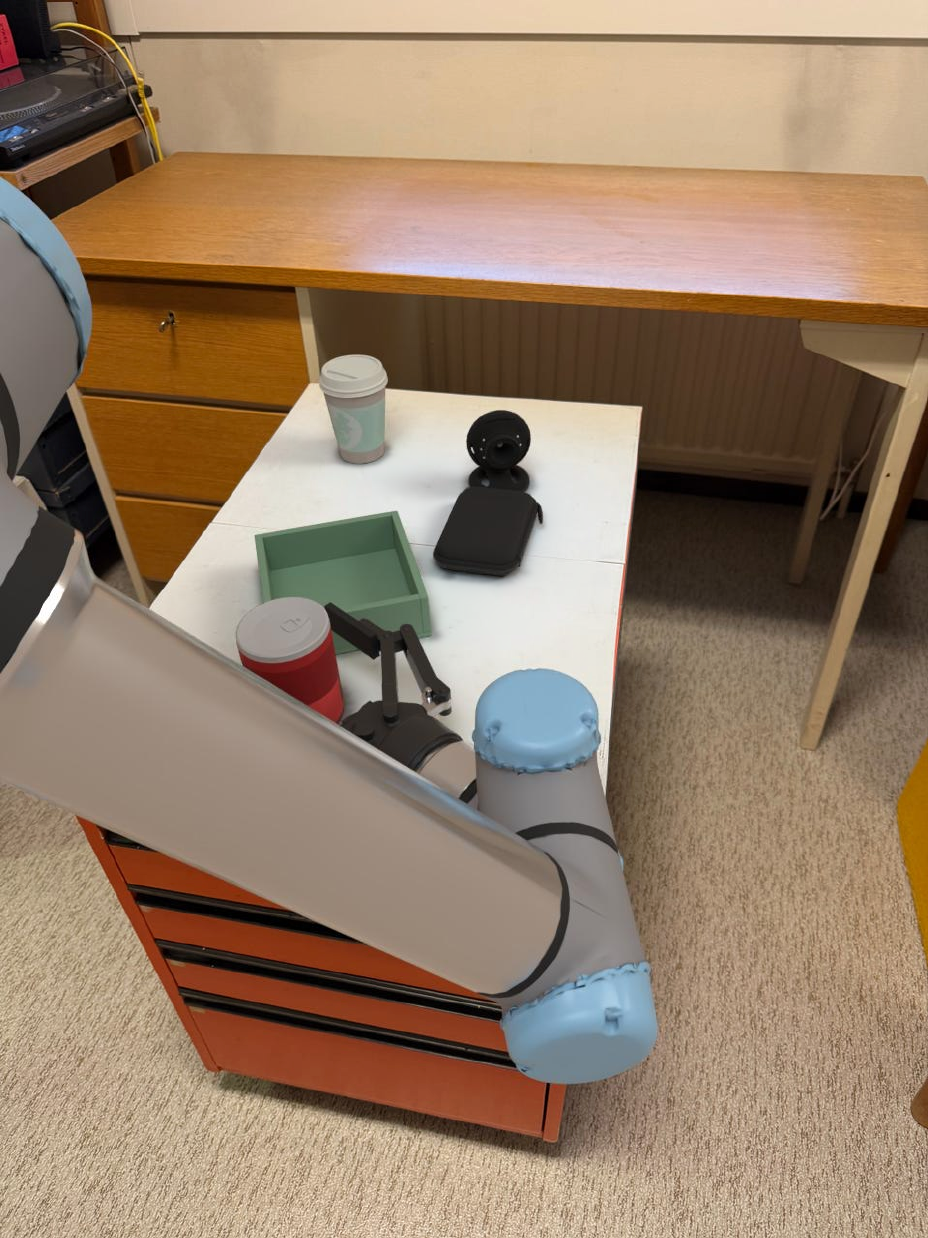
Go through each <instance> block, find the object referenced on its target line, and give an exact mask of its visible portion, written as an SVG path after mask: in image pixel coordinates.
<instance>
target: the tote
mask: <svg viewBox="0 0 928 1238" xmlns="http://www.w3.org/2000/svg"><path fill="white" fill-rule="evenodd" d="M254 543H255V549H256V557H257V565H258V573H259V581H260V582H259V583H260V589H261V596H262V604H263V603H265V602H268V601H271V600H274V599H279V598H284V597H301V598H306V599H310V600H313V601H315V602H317V603H318V604H320V605H321V606H322V607H323V608H324V606H325V605H327V604H328V603H330V602H331V603H333V604H334V605H336V606H337V607H338V608H340V609H341V610H343V611H344V612H346V613H347V614H349V615H350V616H352V617H353V618H355V619H356V620H358V621H359V620H361V619H362V618H364V619H368V620H370V621H371V622H372V623H374V624H375V625H377V626H379V627H380V628H382V629H383V630H385V631H391V632H395V631H398V630H400V627H401V626H402V625H403V624H410V625H412V626H413V628H414V630H415V632H416V634H417V636H418V638H419V639H422V638H427V637H431V636H432V628H431V616H430V602H429V595H428V593H427V589H426V586H425V584H424V580H423V578H422V576H421V573H420V569H419V567H418V564H417V561H416V559H415V556H414V552H413V550H412V546H411V544H410V542H409V539H408V536H407V534H406V530H405V527H404V525H403V523H402V519H401V517H400V513H399V511H398V510H392V511H385V512H380V513H379V512H378V513H374V514H367V515H362V516H361V515H360V516H356V517H349V518H344V519H339V520H333V521H327V522H322V523H315V524H309V525H304V526H298V527H293V528H291V527H290V528H286V529H281V530H274V531H269V532H268V531H267V532H263V533H258V534H254ZM324 609H325V608H324ZM332 636H333V642H334V648H335V653H336V655H340V654H341V655H342V654H346V653H351V652H355V651H356V652H357V651H360V650H359V649H358V648H356V647H355V646H353V645H352V644H350V643H349V642H348V641H346V640H345V639H343V638H342V637H340V636H339V635H338V634H336V633H335V632H333V631H332Z"/></svg>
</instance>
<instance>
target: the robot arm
mask: <svg viewBox="0 0 928 1238" xmlns="http://www.w3.org/2000/svg"><path fill="white" fill-rule="evenodd" d="M92 328H93V310H92V301H91V295H90V294H89V289H88V287H87V282H86V279H85V277H84V274H83V271H82V268H81V265H80V263H79V261H78V259H77V257H76V255H75V253H74V252H73V250H72V249H71V247H70V245H69V243H68V242H67V240H66V239H65V237H64V235H63V234H62V233H61V232H60V231H59V229H58V227H56V225H55V224H54V222H52V220H51V219H50V218H49V217H48V215H47V214H46V213H45V212H44V211H43V210H42V209H40V207H39V206H38V205H37V204H35V202H33V201H32V200H31V198H29V197H28V196H27V195H25V194H24V193H23V192H22V191H21V190H20V189H18V188H17V187H16V186H14V185H13V184H12V183H11V182H9V181H8V180H6V179H5V178H3V177H2V176H0V783H2V784H5V785H7V786H10V787H12V788H14V789H16V790H18V791H20V792H23V793H25V794H27V795H30V796H32V797H34V798H37V799H38V800H41V801H43V802H45V803H47V804H50V805H52V806H54V807H56V808H59V809H61V810H64V811H65V812H67V813H70V814H72V815H75V816H77V817H79V818H82V819H84V820H86V821H88V822H91V823H93V824H95V825H97V826H100V827H101V828H104V829H106V830H109V831H110V832H113V833H115V834H118V835H119V836H122V837H124V838H127V839H128V840H131V841H133V842H135V843H138V844H140V845H142V846H144V847H146V848H149V849H151V850H154V851H156V852H158V853H160V854H162V855H165V856H167V857H169V858H171V859H173V860H176V861H179V862H181V863H183V864H185V865H187V866H190V867H192V868H194V869H197V870H198V871H201V872H204V873H205V874H208V875H210V876H212V877H215V878H217V879H218V880H221V881H223V882H226V883H227V884H230V885H232V886H235V887H237V888H239V889H241V890H244V891H246V892H248V893H250V894H252V895H255V896H257V897H260V898H261V899H264V900H266V901H268V902H271V903H273V904H276V905H277V906H280V907H282V908H284V909H287V910H289V911H290V912H293V913H296V914H298V915H299V916H302V917H304V918H307V919H310V920H311V921H314V922H316V923H318V924H320V925H322V926H325V927H327V928H329V929H332V930H334V931H336V932H338V933H341V934H343V935H345V936H347V937H350V938H352V939H354V940H357V941H358V942H361V943H363V944H365V945H368V946H369V947H371V948H374V949H376V950H379V951H381V952H384V953H386V954H387V955H391V956H392V957H394V958H397V959H398V960H402V961H404V962H406V963H408V964H410V965H413V966H414V967H417V968H419V969H422V970H424V971H426V972H428V973H431V974H432V975H435V976H437V977H440V978H442V979H444V980H447V981H449V982H451V983H453V984H455V985H458V986H460V987H461V988H462V987H463V988H465V989H467V990H469V991H472V992H474V993H476V994H478V995H479V996H480V997H483V998H485V999H488V1000H489V1001H492V1002H494V1003H497V1004H499V1005H500V1007H501V1018H500V1020H499V1026H500V1029H501V1030H502V1031H503V1033H504V1038H505V1043H506V1048H507V1052H508V1056H509V1058H510V1059H511V1061H512V1062H513V1063H514V1064H515V1066H516V1069H517V1070H518V1071H519V1072H520V1073H522V1074H523V1075H524V1076H526V1077H528V1078H530V1079H532V1080H535V1081H539V1082H542V1083H548V1084H554V1085H555V1084H557V1085H578V1084H579V1085H580V1084H587V1083H593V1082H597V1081H603V1080H606V1079H609V1078H611V1077H614V1076H616V1075H619V1074H622V1073H624V1072H627V1071H629V1070H630V1069H632V1068H635V1066H637V1065H638V1064H640V1063H641V1062H642V1061H644V1060H645V1059H646V1058H647V1057H648V1056H649V1055H650V1053H651V1052H652V1050H653V1049H654V1047H655V1045H656V1043H657V1039H658V1034H659V1026H658V1025H659V1024H658V1017H657V1011H656V1006H655V1001H654V994H653V988H652V982H651V976H650V974H651V972H652V968H651V966H650V963H649V962H648V961H646V956H645V953H644V950H643V949H644V948H643V945H642V941H641V938H640V934H639V930H638V926H637V922H636V918H635V915H634V910H633V907H632V903H631V897H630V895H629V891H628V886H627V882H626V878H625V875H624V859H623V856H621V853H620V851H619V850H618V845H617V840H616V836H615V832H614V828H613V824H612V823H613V822H612V819H611V815H610V811H609V807H608V803H607V802H608V801H607V798H606V795H605V791H604V786H603V782H602V777H601V774H600V770H599V765H598V750H599V748H600V746H601V745H600V744H601V742H602V735H601V732H600V730H599V723H600V721H599V720H600V719H599V718H600V717H599V715H600V714H599V707H598V704H597V702H596V699H595V697H594V696H593V694H592V693H591V692H590V690H589V689H588V688H587V686H585V685H584V684H583V683H582V682H581V681H579V680H578V679H576V678H574V677H572V676H571V675H569V674H566V673H564V672H561V671H559V670H555V669H552V668H551V669H550V668H541V667H538V668H535V669H534V668H527V669H517V670H512V671H511V672H508V673H505V674H503V675H501V676H499V677H498V678H496V679H494V680H493V681H492V682H491V683H490V684H489V685H488V686H486V688H485V689H484V690H483V691H482V692H481V695H480V696H479V698H478V700H477V702H476V705H475V711H474V712H475V713H474V729H473V730H472V734H471V740H472V742H473V744H472V743H471V742H470V741H466V740H464V739H463V737H462V736H461V735H459V734H458V733H457V732H455V731H454V730H452V729H451V728H449V727H448V726H447V725H446V724H444V723H443V722H441V721H440V720H439V719H437V718H436V717H435V716H437V715H439V716H441V717H442V716H443V717H447V716H450V715H451V714H452V712H453V707H452V692H451V691H452V690H451V688H450V687H449V686H448V684H445V682H444V681H443V680H442V679H440V678H439V677H438V676H437V674H436V673H435V670H434V667H433V666H432V664H431V662H430V659H429V658H428V656H427V653H426V651H425V649H424V647H423V645H422V643H421V641H420V638H418V636H417V634H416V632H415V630H414V628H413V626H412V625H410V624H403V625H402V626H401V627H400V630H398V631H395V632H391V631H385V630H383V629H382V628H380V627H379V626H377V625H375V624H374V623H372V622H371V621H370V620H368V619H364V618H362V619H361V620H359V621H358V620H356V619H355V618H353V617H352V616H350V615H349V614H347V613H346V612H344V611H343V610H341V609H340V608H338V607H337V606H336V605H334V604H333V603H331V602H330V603H328V604H327V605H325V606H324V608H325V610H326V612H327V614H328V618H329V621H330V626H331V630H332V631H333V632H335V633H336V634H338V635H339V636H340V637H342V638H343V639H345V640H346V641H348V642H349V643H350V644H352V645H353V646H355V647H356V648H358V649H359V650H358V651H360V652H361V653H363V654H364V655H366V656H367V657H369V658H371V659H372V660H373V661H374V660H376V659H377V658H379V657H380V669H381V700H375V701H372V700H368V701H367V702H366V703H365V704H363V705H362V706H361V707H360V709H358V710H357V711H356V712H354V713H352V714H349V715H348V716H346V717H345V718H343V719H342V720H340V721H341V724H338V723H337V724H336V723H334V722H333V721H331V720H330V719H328V718H326V717H325V716H323V715H321V714H320V713H318V712H316V711H315V710H313V709H312V708H310V707H308V706H307V705H305V704H303V703H302V702H300V701H299V700H297V699H295V698H294V697H292V696H290V695H289V694H287V693H286V692H284V691H282V690H281V689H279V688H277V687H276V686H274V685H272V684H271V683H269V682H268V681H266V680H264V679H263V678H261V677H259V676H258V675H256V674H255V673H253V672H251V671H250V670H248V669H246V668H245V667H243V666H242V664H240V663H239V662H236V661H235V660H233V659H232V658H230V657H229V656H227V655H226V654H223V653H222V652H220V651H219V650H217V649H215V648H214V647H212V646H211V645H209V644H208V643H206V642H204V641H202V640H201V639H199V638H198V637H196V636H194V635H193V634H191V633H189V632H188V631H186V630H185V629H183V628H182V627H179V625H176V624H175V623H173V622H172V621H170V620H168V619H167V618H165V617H163V616H162V615H161V614H158V613H157V612H155V611H153V610H152V609H150V608H149V607H147V606H145V605H143V604H142V603H140V602H139V601H138V600H135V598H132V597H131V596H129V595H127V594H126V593H124V592H122V591H121V590H119V589H118V588H116V587H114V586H112V585H111V584H110V583H108V582H106V581H105V580H104V579H101V578H100V577H98V576H97V575H96V573H95V572H94V570H93V568H92V567H91V562H90V559H89V555H88V550H87V546H86V542H85V538H84V534H83V533H82V532H81V531H80V530H78V529H77V528H75V527H74V526H72V525H70V524H68V523H67V522H66V521H64V520H62V519H61V518H59V517H58V516H56V515H55V514H53V513H51V512H50V511H48V510H47V509H45V508H43V507H42V506H40V505H39V504H38V503H36V502H35V501H34V500H33V499H31V498H30V497H29V496H27V494H25V493H24V492H23V491H22V490H21V489H20V488H19V487H18V486H17V485H16V484H15V483H14V479H15V478H16V477H17V475H18V473H19V472H20V470H21V468H22V466H23V464H24V463H25V461H26V460H27V458H28V456H29V454H30V453H31V451H32V449H33V447H34V446H35V444H36V443H37V441H38V439H39V438H40V436H41V435H42V432H43V431H44V429H45V428H46V426H47V424H48V423H49V421H50V419H51V417H52V416H53V414H54V413H55V411H56V409H57V408H58V406H59V405H60V403H61V401H62V399H63V397H64V395H65V394H66V393H67V391H68V390H69V389H70V388H71V387H72V386H73V385H74V384H75V382H76V380H78V379H79V378H80V376H81V374H82V372H83V371H84V363H85V360H86V357H87V356H88V353H87V352H88V351H87V350H88V346H89V344H90V340H91V335H92ZM400 652H403V654H404V657H405V659H406V662H407V664H408V666H409V668H410V670H411V672H412V675H413V677H414V679H415V682H416V684H417V686H418V688H419V690H420V693H421V701H422V702H421V703H422V704H420V703H417V702H408V701H407V702H406V701H405V702H404V701H399V700H400V699H399V685H398V684H399V683H398V667H397V666H398V665H397V653H400Z"/></svg>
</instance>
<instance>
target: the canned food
mask: <svg viewBox="0 0 928 1238" xmlns="http://www.w3.org/2000/svg"><path fill="white" fill-rule="evenodd" d="M234 634H235V641H236V642H235V643H236V647H237V651H238V655H239V659H240V662H241V665H242V666H243V667H245V668H246V669H248V670H250V671H251V672H253V673H255V674H256V675H258V676H259V677H261V678H263V679H264V680H266V681H268V682H269V683H271V684H272V685H274V686H276V687H277V688H279V689H281V690H282V691H284V692H286V693H287V694H289V695H290V696H292V697H294V698H295V699H297V700H299V701H300V702H302V703H303V704H305V705H307V706H308V707H310V708H312V709H313V710H315V711H316V712H318V713H320V714H321V715H323V716H325V717H326V718H328V719H330V720H331V721H333V722H334V723H336V724H338V723H339V721H341V718H342V715H343V711H344V705H345V704H344V703H345V699H344V694H343V688H342V683H341V677H340V671H339V665H338V660H337V654H336V653H335V648H334V642H333V636H332V630H331V626H330V621H329V618H328V614H327V612H326V610H325V609H324V608H323V607H322V606H321V605H320V604H318V603H317V602H315V601H313V600H310V599H306V598H301V597H284V598H279V599H274V600H271V601H268V602H265V603H263V602H262V603H261V604H258V605H256V606H255V607H253V608H252V609H250V610H249V611H248V612H247V613H246V614H244V615H243V616H242V618H241V619H240V621H239V622H238V624H237V626H236V629H235V633H234Z"/></svg>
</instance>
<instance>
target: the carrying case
mask: <svg viewBox="0 0 928 1238" xmlns="http://www.w3.org/2000/svg"><path fill="white" fill-rule="evenodd" d="M536 518H538V522H539V524H540V525H542V524H543V522H544V511H543V508H542V505H541V504H540V503H539V501H537V500H536V499H535V498H534V497H533V496H532V495H531V494H530V493H528V492H525V491H524V492H521V491H512V490H502V489H493V488H483V487H469V486H468V487H466V488H465V489H463V491H462V492H460V493H459V495H458V496H457V498H456V500H455V503H454V504H453V506H452V509H451V511H450V513H449V515H448V518H447V520H446V522H445V524H444V526H443V529H442V531H441V533H440V535H439V537H438V540H437V542H436V543H435V544H436V545H435V547H434V549H433V554H432V555H433V560H434V561H435V563H436V564H437V565H439V566H440V567H441V568H444V569H447V570H451V571H459V572H460V571H461V572H468V573H473V574H474V573H476V574H484V575H492V576H498V577H499V576H507V575H510V574H511V573H512V572H514V571H515V570H516V569H518V568H520V567H521V564H522V560H523V557H524V554H525V552H526V549H527V546H528V543H529V540H530V536H531V533H532V530H533V528H534V525H535V521H536Z"/></svg>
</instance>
